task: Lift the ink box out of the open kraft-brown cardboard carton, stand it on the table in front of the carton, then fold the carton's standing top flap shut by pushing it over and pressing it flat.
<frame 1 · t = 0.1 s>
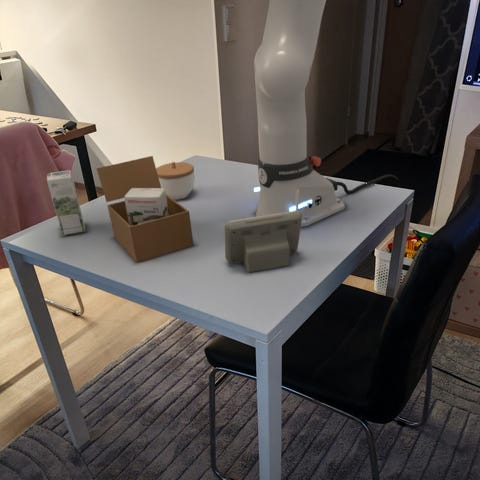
digital clock: (264, 261, 112), on the table
ink box: (152, 240, 124), resting on carton
trinket box: (178, 196, 148), on the table
carton: (153, 241, 124), on the table
syrup box: (73, 231, 133), on the table
flap: (129, 178, 124), point 13 cm above the table, hinge at 110.0°
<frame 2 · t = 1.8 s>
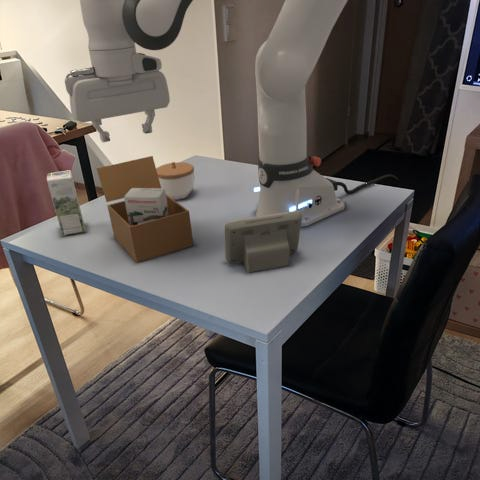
hand: (127, 137, 110), 24 cm above the table, tool pointing down, fingers open, 8 cm apart
nothing on the table moved.
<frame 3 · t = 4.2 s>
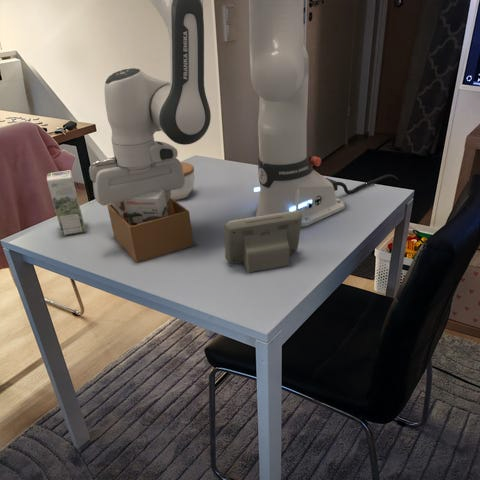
hand: (144, 214, 121), 7 cm above the table, tool pointing down
ink box: (152, 240, 124), resting on carton, touching gripper
everything else where it was.
when the fingers open (6 cm above the table, at t = 13.1 s): ink box stays where it is, on the table.
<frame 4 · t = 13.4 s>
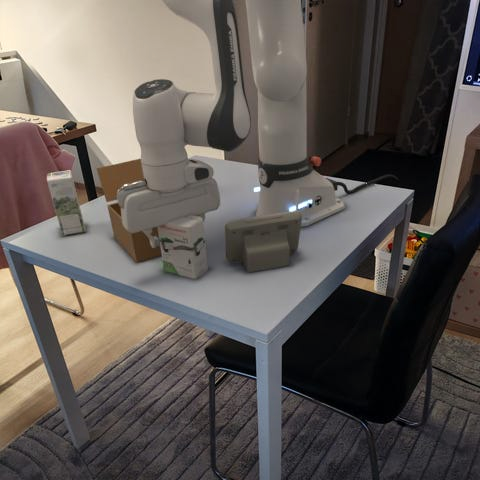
hand: (176, 240, 109), 7 cm above the table, tool pointing down, fingers open, 8 cm apart
ink box: (186, 271, 111), on the table
everything else where it was.
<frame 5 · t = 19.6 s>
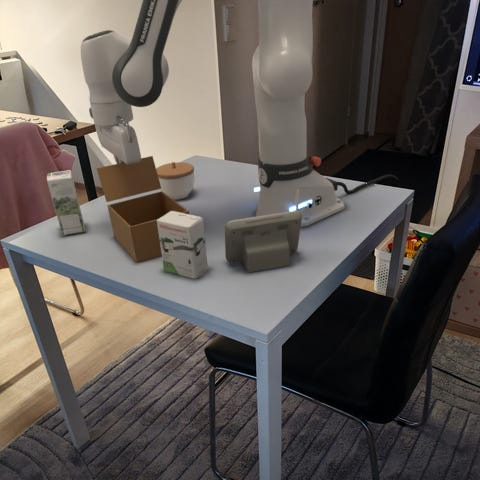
hand: (124, 173, 127), 13 cm above the table, tool pointing down, fingers closed
flap: (129, 178, 124), point 13 cm above the table, hinge at 110.3°, touching gripper
everything else where it was.
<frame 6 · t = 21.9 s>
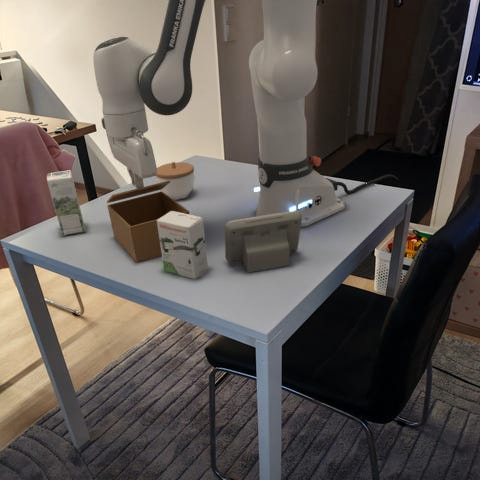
hand: (138, 186, 120), 12 cm above the table, tool pointing down, fingers closed
flap: (138, 192, 121), point 11 cm above the table, hinge at 28.4°, touching gripper
everything else where it was.
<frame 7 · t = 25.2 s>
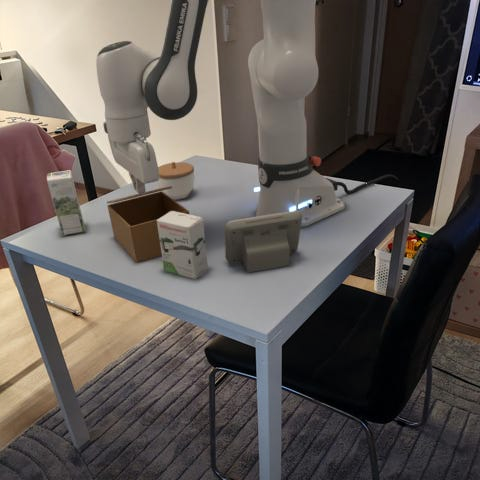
hand: (139, 191, 120), 12 cm above the table, tool pointing down, fingers closed
flap: (139, 194, 122), point 10 cm above the table, hinge at 18.5°, touching gripper
everything else where it was.
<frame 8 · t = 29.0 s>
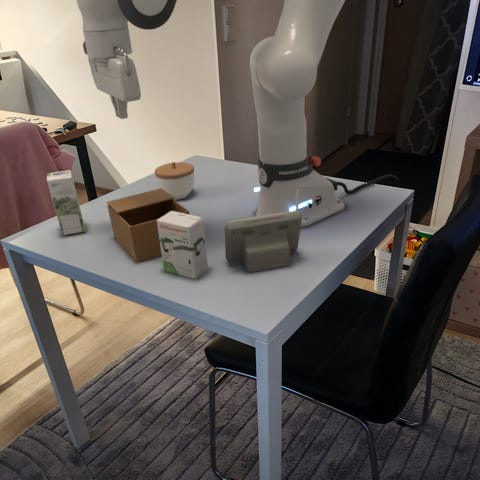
hand: (122, 117, 114), 27 cm above the table, tool pointing down, fingers closed
flap: (140, 200, 122), point 9 cm above the table, hinge at 0.0°
everything else where it was.
at the end: ink box inside the target area (1.8 cm from its centre), on the table; ink box tilted 0°; flap at +0° (first picture: +110°) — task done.
